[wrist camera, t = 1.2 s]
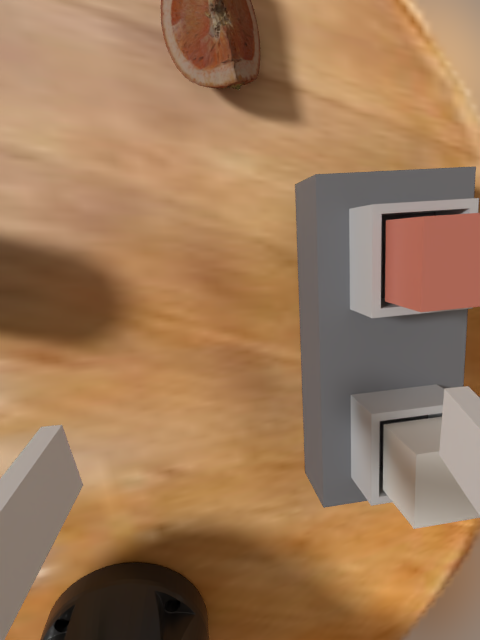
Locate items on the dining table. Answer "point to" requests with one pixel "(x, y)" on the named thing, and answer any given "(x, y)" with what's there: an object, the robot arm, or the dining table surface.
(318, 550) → the dining table surface
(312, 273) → the plug panel
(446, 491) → the pale plug
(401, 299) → the red plug
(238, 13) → the fruit slice
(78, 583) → the robot arm
